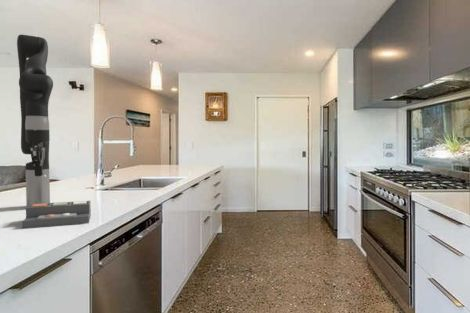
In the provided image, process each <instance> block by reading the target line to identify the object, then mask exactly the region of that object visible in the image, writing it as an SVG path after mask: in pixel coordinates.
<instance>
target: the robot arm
mask: <svg viewBox="0 0 470 313" xmlns="http://www.w3.org/2000/svg"><path fill="white" fill-rule="evenodd" d="M16 38H17V39H16V41H17V42H16V46H17V47H16V48H17V57H18V58H17V59H18V60H17V61H18V68H19V71H18V72H19V78H18V79H19V80H18V86H19V103H20V116H21V121H20V123H21V127H20V129H21V130H20V149H21V152H22V154H23V155H30V158H31V161H29V162H27V163H25V165H24V166H25V190H26V191H25V199H26V202H25V203H26V208H27V207H28V206H29V205H30V204H41V203H51V193H50V192H51V189H50V188H51V184H50V180H51V179H50V140H51V138H50V120H49V101H50V97H51V94H52V91H53V88H54V80H53V79H52V77H51V76H49V75H47V63H48V55H49V46H48V41H47V40H46V39H45V38H44V37H40V36H34V35H29V34H28V35H27V34H18V35H17V37H16Z"/></svg>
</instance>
